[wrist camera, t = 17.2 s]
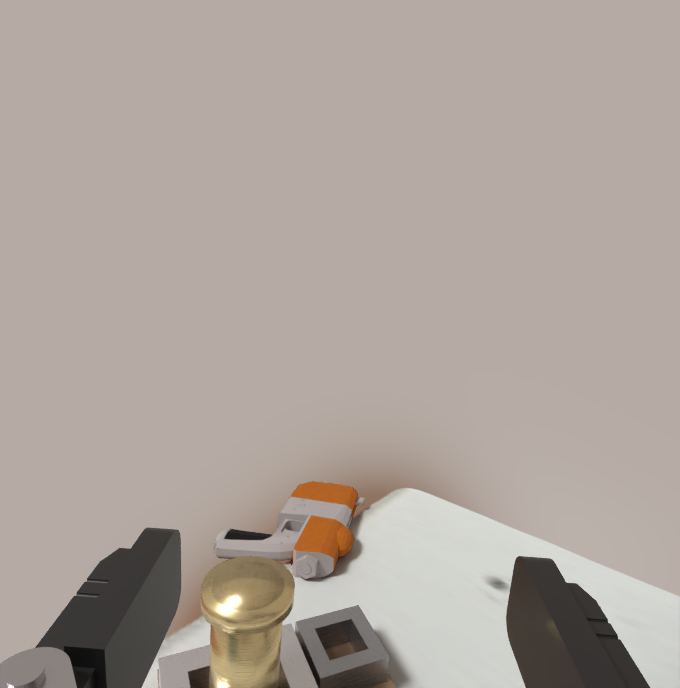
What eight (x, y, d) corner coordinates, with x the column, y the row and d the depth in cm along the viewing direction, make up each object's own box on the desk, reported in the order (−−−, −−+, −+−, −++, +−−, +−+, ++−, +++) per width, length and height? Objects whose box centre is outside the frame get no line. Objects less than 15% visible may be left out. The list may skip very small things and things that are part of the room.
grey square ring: (356, 627, 48) (358, 605, 48) (387, 681, 43) (389, 656, 42) (294, 645, 46) (295, 621, 45) (318, 704, 40) (320, 678, 40)
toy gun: (210, 539, 57) (343, 561, 54) (268, 467, 75) (370, 480, 72) (210, 566, 58) (341, 590, 55) (268, 488, 76) (369, 503, 73)
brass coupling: (270, 677, 43) (278, 548, 40) (297, 748, 37) (308, 604, 34) (191, 702, 40) (193, 566, 37) (207, 782, 34) (211, 629, 32)
